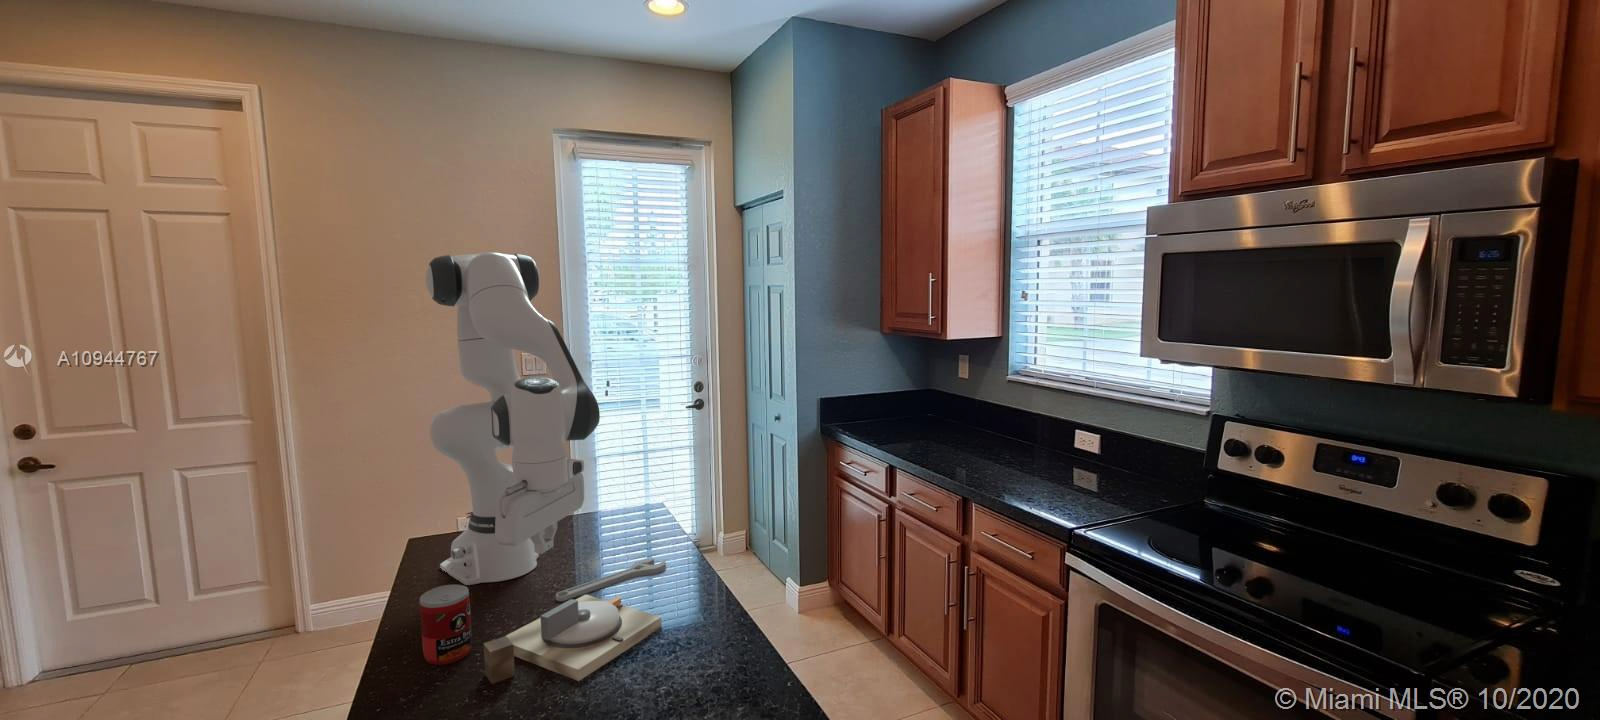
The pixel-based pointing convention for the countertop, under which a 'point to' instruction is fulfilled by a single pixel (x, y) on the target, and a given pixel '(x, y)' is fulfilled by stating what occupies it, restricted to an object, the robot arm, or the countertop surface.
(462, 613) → the canned food
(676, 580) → the countertop surface
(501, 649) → the block
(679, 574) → the countertop surface
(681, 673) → the countertop surface
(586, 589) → the adjustable wrench
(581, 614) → the dial
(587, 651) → the panel
